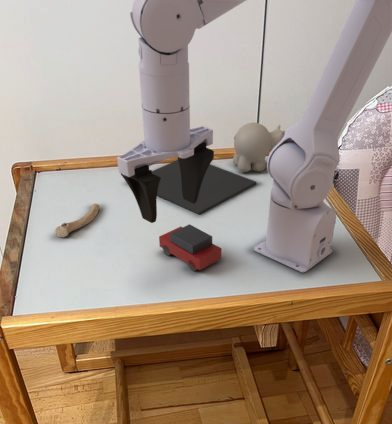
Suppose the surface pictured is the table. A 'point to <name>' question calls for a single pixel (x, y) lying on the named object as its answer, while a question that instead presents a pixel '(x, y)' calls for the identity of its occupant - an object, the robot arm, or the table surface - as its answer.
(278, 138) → the toy rhinoceros
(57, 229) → the bone
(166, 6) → the robot arm
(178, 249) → the toy car
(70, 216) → the table surface
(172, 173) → the mat
